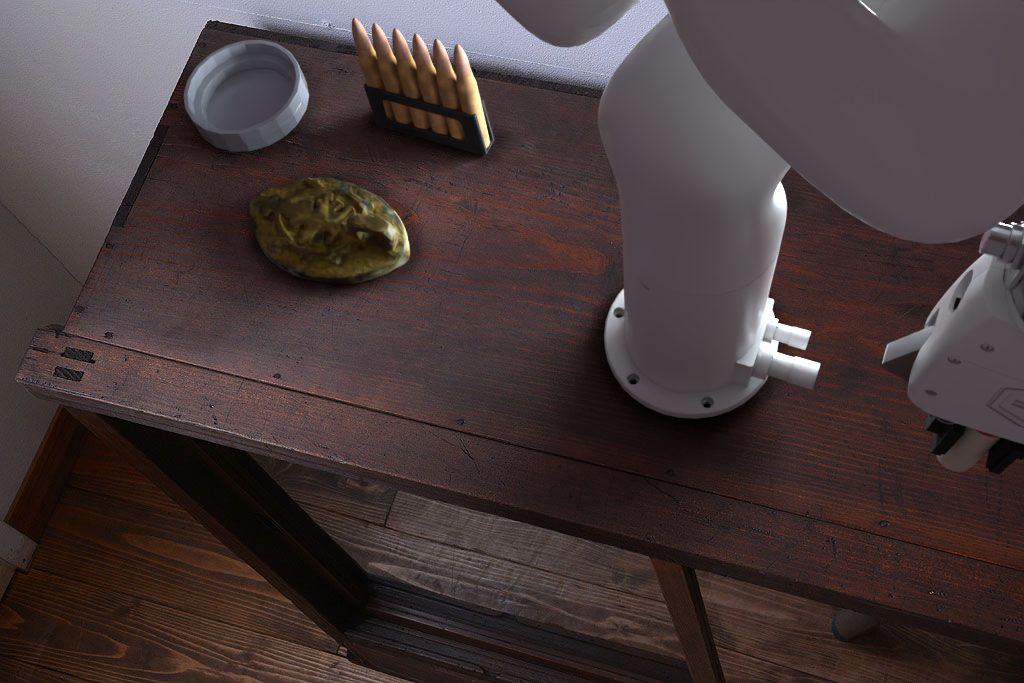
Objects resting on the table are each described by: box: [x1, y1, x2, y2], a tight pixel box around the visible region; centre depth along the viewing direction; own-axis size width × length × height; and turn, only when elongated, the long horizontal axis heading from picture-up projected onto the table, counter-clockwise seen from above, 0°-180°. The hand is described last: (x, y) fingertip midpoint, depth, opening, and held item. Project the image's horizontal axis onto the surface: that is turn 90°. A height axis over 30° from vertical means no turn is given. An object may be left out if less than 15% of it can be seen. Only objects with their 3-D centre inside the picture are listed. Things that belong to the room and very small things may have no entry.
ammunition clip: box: [351, 17, 495, 157], centre depth 78 cm, size 11×2×12 cm, turn 66°
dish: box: [183, 39, 310, 153], centre depth 86 cm, size 10×10×3 cm
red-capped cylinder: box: [935, 427, 1001, 473], centre depth 53 cm, size 2×2×8 cm
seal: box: [248, 176, 411, 285], centre depth 78 cm, size 9×5×15 cm
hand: (969, 438), depth 54 cm, fingers closed on red-capped cylinder, 2 cm apart
